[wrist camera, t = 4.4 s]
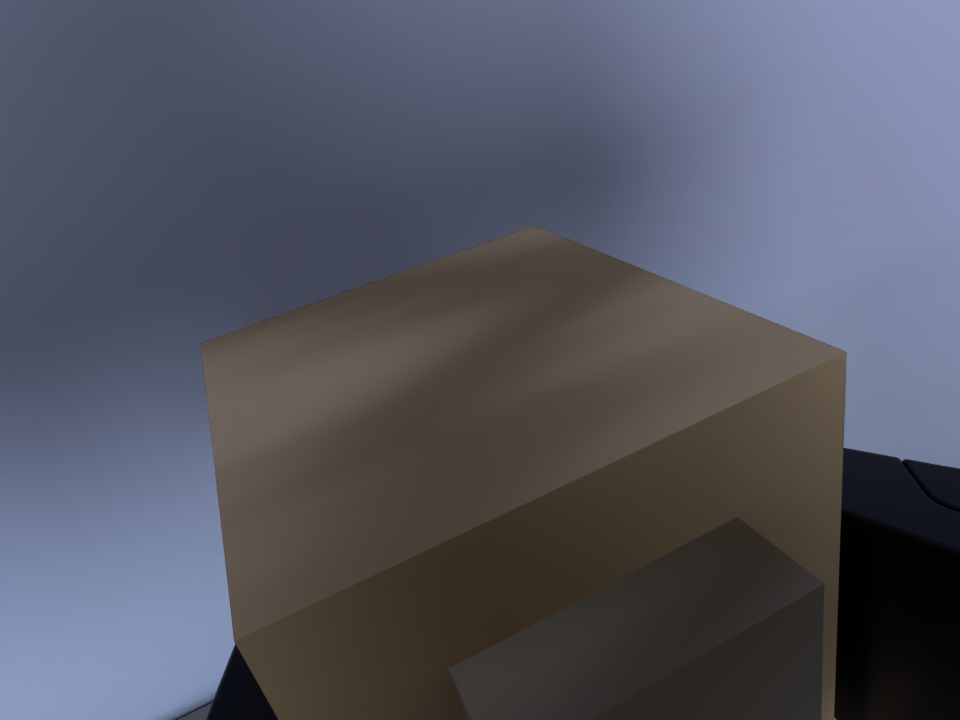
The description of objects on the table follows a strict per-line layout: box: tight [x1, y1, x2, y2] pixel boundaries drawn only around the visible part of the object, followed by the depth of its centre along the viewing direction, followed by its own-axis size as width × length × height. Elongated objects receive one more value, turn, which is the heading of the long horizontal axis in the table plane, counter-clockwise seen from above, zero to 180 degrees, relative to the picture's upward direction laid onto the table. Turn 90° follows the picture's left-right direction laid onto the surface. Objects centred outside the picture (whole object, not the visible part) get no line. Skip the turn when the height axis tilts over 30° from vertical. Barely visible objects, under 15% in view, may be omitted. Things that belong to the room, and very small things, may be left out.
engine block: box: [201, 226, 847, 720], centre depth 8 cm, size 4×6×6 cm
